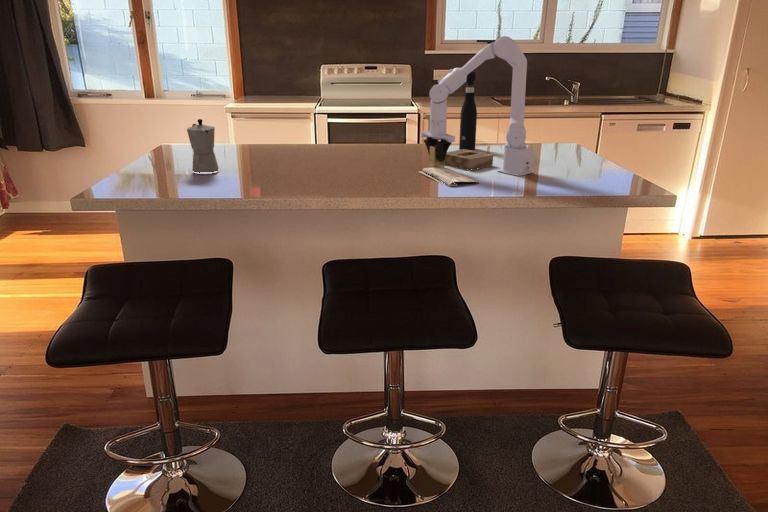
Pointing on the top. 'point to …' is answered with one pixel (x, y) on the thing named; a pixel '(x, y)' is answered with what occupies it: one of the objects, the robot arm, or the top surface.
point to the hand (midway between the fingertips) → (437, 160)
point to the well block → (468, 159)
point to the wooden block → (435, 158)
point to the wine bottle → (468, 116)
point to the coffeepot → (202, 147)
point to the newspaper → (446, 176)
